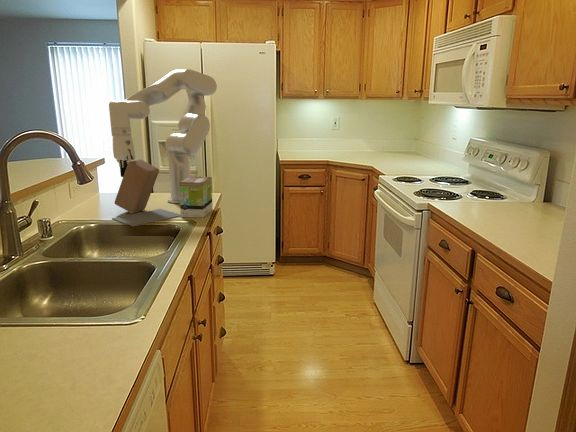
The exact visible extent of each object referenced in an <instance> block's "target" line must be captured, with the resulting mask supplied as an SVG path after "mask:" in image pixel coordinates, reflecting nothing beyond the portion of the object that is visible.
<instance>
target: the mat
mask: <svg viewBox="0 0 576 432" xmlns="http://www.w3.org/2000/svg"><path fill="white" fill-rule="evenodd" d="M179 217H181V213H177V212H173V211H170V210H166V209H163V208H158V209H152V210H146V211H140V212H137V213H135V214H133V213H130V214H126V215H122V216H118V217H112V218H111V220H113V221H116V222H118V223H121V224H124V225H127V226H130V227H137V226H142V225H146V224H151V222H152V223H155V221H157V222H160V220H161V221H166V220H170V219H174V218H179ZM165 219H166V220H165Z"/></svg>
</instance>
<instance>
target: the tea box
mask: <svg viewBox="0 0 576 432" xmlns="http://www.w3.org/2000/svg"><path fill="white" fill-rule="evenodd" d="M212 180H213V179H212V176H190V177H188V178H186V179H185V180H183V181H181V182H180V203H179V204H180V214H181V216H180V217H181V218H204V217H206V216H207V215H208V214H209V213H211V211H212V210H213V181H212Z"/></svg>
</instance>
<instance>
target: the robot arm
mask: <svg viewBox="0 0 576 432" xmlns="http://www.w3.org/2000/svg"><path fill="white" fill-rule="evenodd" d="M217 88H218V85H217V82H216V80H215V79H214V78H213V77H212V76H210V75H208V74H205V73H202V72H199V71H196V70H194V69H191V68H185V69H184V68H183V69H181V68H180V69H175V70H172V71H170V72H169V73H167V74H166V75H164V76H163V77H162V78H160V79H158V81H156V82H154V83H153V84H151V85H149V86H146V87H145V88H143V89H141V90H139V91H137V92H135V93H133V94H131V95H130V96H128V97H127V98H125V99H124V100H112V101H110V102H109V103H108V108H109V109H108V111H109V119H110V130H111V131H110V132H111V137H112V153H113V154H112V155H113V158H114V159H115V160H116V162H117V163H118V166H119V170H120V171H119V173H120V177H121V178H123V176H124V173H125V170H126V168H127V165H128V163H129V162H131V161H135V159H136V154H135V153H136V152H135V148H134V146H135V145H134V141H133V138H132V127H131V120H144V119H146V118H147V117H148V116H149V115H150V113H151V110H150V109H151V108H150V107H151V106H154V105H158V104H162V103H164V102H167V101H168V100H170V99H171V98H172V97H174V95H176V94H178V93H179V92H180V91H182V90H185V91H186V93H187V97H188V103H187V105H186V108H185V109H184V111H183V113H182V115H181V117H180V119H179V121H178V124H177V128H178V130H179V131H180V132H176V133H175V132H173V133H171V134H169V135H168V136H167V137H166V138H165V142H164V145H165V150H166V155H167V159H168V160H167V161H168V173H169V188H170V189H169V190H170V197H168V199H167V202H168V203H173V204H180V182H181V181H183V180H185V179H186V178H188V177H191V165H190V158H189V157H188V156H194V155H196V154H197V153H198V152H199V151H200V150H201V148H202V147H203V144H204V142H205V140H206V138H207V137H208V135H209V132H210V129H211V127H210V126H211V125H210V120H209V118H208V117H207V116H206V115H205V113H206V109H207V108H206V107H207V106H206V101H205V98H204V97H205V96H207V97H208V96H211V95H212V96H213V95H214V94H215V93H216V92H217Z"/></svg>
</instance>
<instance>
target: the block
mask: <svg viewBox="0 0 576 432" xmlns="http://www.w3.org/2000/svg"><path fill="white" fill-rule="evenodd" d="M159 173H160V169H159V168H158V167H156V166H155V165H152V164H150V163H148V162H147V161H145V160H142V159H136V160H131V162H129V163H128V165H127V168H126V170H125V173H124V176H123V177H122V179H121V182H120V186H119V188H118V192H117V194H116V196H115V199H114V205H115V206H118V207H119V208H121V209H123V210H125V211H127V212H129V213H130V214H136V213H140V212H143V210H145V209H146V207H147V205H148V202H149V199H150V197H151V194H152V191H153V189H154V186H155V183H156V181H157V177H158V176H159Z"/></svg>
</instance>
